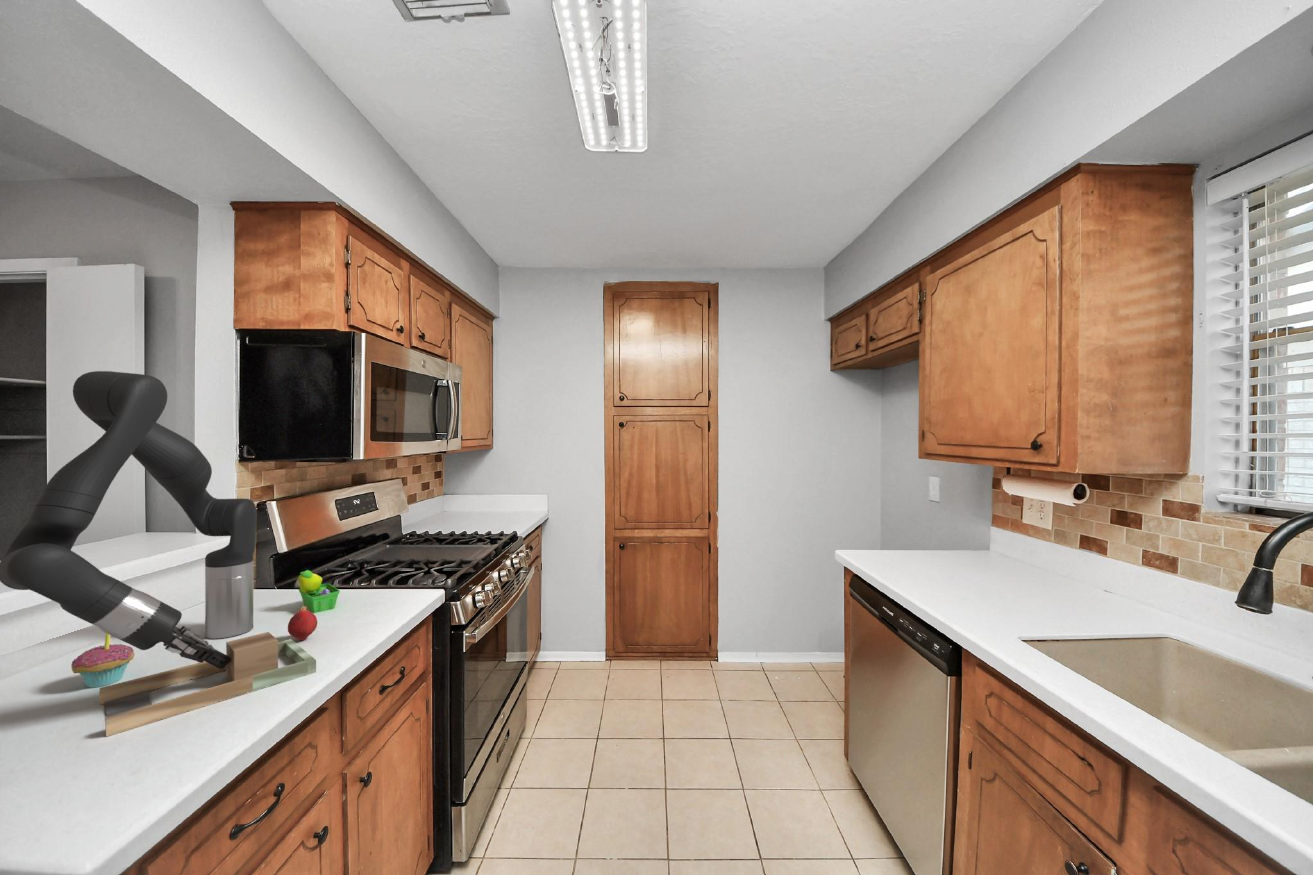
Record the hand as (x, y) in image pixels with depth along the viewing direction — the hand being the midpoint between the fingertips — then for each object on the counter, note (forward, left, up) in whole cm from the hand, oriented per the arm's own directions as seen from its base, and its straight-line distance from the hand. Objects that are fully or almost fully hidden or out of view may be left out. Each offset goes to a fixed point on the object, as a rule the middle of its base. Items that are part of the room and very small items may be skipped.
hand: (226, 663), depth 101 cm
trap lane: (0, -3, -4) cm, 5 cm away
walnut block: (0, +4, -4) cm, 6 cm away
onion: (-13, +16, -4) cm, 21 cm away
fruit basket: (-37, +26, -4) cm, 46 cm away
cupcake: (-19, -16, -4) cm, 25 cm away
